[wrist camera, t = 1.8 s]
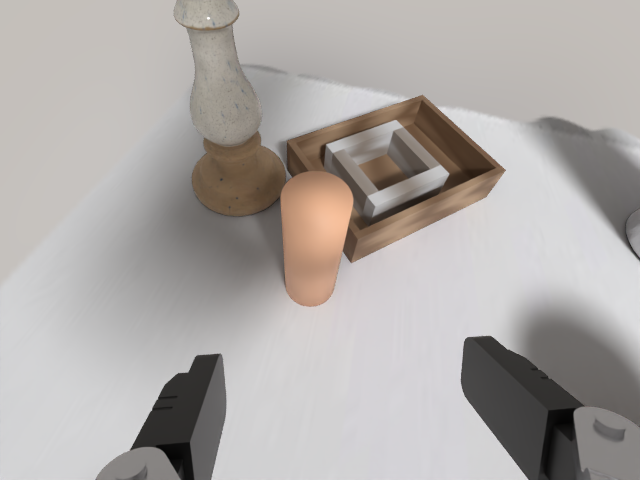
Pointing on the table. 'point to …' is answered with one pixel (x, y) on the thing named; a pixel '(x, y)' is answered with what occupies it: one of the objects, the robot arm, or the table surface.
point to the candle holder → (226, 116)
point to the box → (397, 170)
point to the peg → (314, 234)
